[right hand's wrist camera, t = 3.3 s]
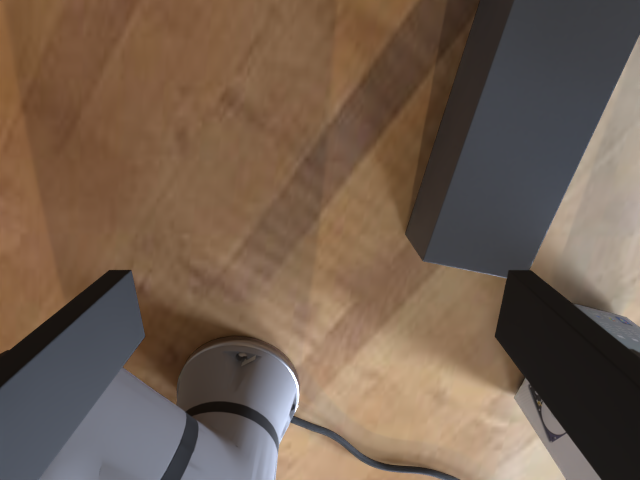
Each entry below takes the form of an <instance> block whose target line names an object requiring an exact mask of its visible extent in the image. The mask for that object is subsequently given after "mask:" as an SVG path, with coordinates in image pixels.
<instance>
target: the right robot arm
mask: <svg viewBox="0 0 640 480" xmlns="http://www.w3.org/2000/svg"><path fill="white" fill-rule="evenodd" d="M144 337H145V333H144V328H143V323H142V319H141V314H140V309H139V304H138V299H137V295H136V290H135V285H134V280H133V275H132V271H131V270H109V271H108V272H106V273H105V274H104V275H103V276H101V277H100V278H99V279H98V280H96V281H95V282H94V283H93V284H91V285H90V286H89V287H88V288H86V289H85V290H84V291H83V292H81V293H80V294H79V295H78V296H76V297H75V298H74V299H73V300H71V301H70V302H69V303H68V304H67V305H65V306H64V307H63V308H62V309H60V310H59V311H58V312H57V313H55V314H54V315H53V316H52V317H50V318H49V319H48V320H47V321H45V322H44V323H43V324H42V325H40V326H39V327H38V328H37V329H35V330H34V331H33V332H32V333H30V334H29V335H28V336H27V337H25V338H24V339H23V340H22V341H20V342H19V343H18V344H17V345H15V346H14V347H13V348H12V349H10V350H7V351H5V352H3V353H1V354H0V480H275V478H276V468H277V457H278V449H279V443H280V441H281V439H282V437H283V435H284V433H285V431H286V430H287V428H288V425H289V423H290V422H291V423H294V424H296V425H299V426H301V427H304V428H306V429H309V430H311V431H314V432H317V433H320V434H323V435H326V436H328V437H330V438H332V439H333V440H335V441H337V442H338V443H340V444H341V445H342V446H343V447H345V448H346V449H347V450H348V451H349V452H351V453H352V454H353V455H354V456H355V457H357V458H358V459H359V460H361V461H362V462H364V463H366V464H368V465H370V466H372V467H375V468H378V469H381V470H385V471H391V472H400V473H415V474H424V475H429V476H433V477H436V478H439V479H442V480H460V479H457V478H455V477H453V476H450V475H448V474H445V473H442V472H439V471H436V470H432V469H428V468H422V467H413V466H398V465H390V464H385V463H381V462H378V461H375V460H372V459H370V458H368V457H366V456H365V455H363V454H362V453H360V452H359V451H358V450H356V449H355V448H354V447H353V446H352V445H351V444H350V443H348V442H347V441H346V440H345V439H343V438H342V437H341V436H339V435H338V434H336V433H334V432H333V431H331V430H329V429H326V428H324V427H321V426H318V425H315V424H312V423H310V422H307V421H305V420H302V419H300V418H297V417H295V416H293V415H294V413H295V411H296V408H297V405H298V400H299V378H298V374H297V372H296V369H295V368H294V366H293V364H292V363H291V361H290V360H289V359H288V358H287V357H286V356H285V355H284V354H283V353H282V352H281V351H280V350H278V349H277V348H275V347H274V346H272V345H270V344H268V343H266V342H263V341H261V340H258V339H254V338H249V337H240V336H233V337H224V338H219V339H216V340H213V341H210V342H208V343H206V344H204V345H202V346H201V347H199V348H198V349H197V350H196V351H194V352H193V353H192V355H191V356H190V357H189V358H188V360H187V362H186V363H185V365H184V367H183V369H182V371H181V373H180V376H179V379H178V384H177V404H176V405H175V404H174V403H172V402H171V401H169V400H168V399H166V398H165V397H164V396H162V395H161V394H159V393H158V392H156V391H155V390H154V389H152V388H151V387H149V386H148V385H146V384H145V383H144V382H142V381H141V380H140V379H138V378H137V377H135V376H134V375H133V374H131V373H130V372H129V371H127V370H126V369H124V368H123V366H124V364H125V363H126V362H127V360H128V359H129V358H130V356H131V355H132V354H133V352H134V351H135V350H136V348H137V347H138V345H139V344H140V343H141V341H142V340H143V339H144ZM495 337H496V339H497V340H498V341H499V343H500V344H501V345H502V347H503V348H504V350H505V351H506V352H507V354H508V355H509V356H510V358H511V359H512V360H513V362H514V363H515V364H516V366H517V367H518V368H519V370H520V371H521V372H522V374H523V375H524V376H525V378H526V379H527V380H528V382H529V383H530V385H531V386H532V387H533V389H534V390H535V391H536V393H537V394H538V395H539V397H540V398H541V399H542V401H543V402H544V403H545V405H546V406H547V407H548V409H549V410H550V411H551V413H552V414H553V415H554V417H555V418H556V419H557V421H558V422H559V424H560V425H561V426H562V428H563V429H564V430H565V432H566V433H567V434H568V436H569V437H570V438H571V440H572V441H573V442H574V444H575V445H576V446H577V448H578V449H579V450H580V452H581V453H582V454H583V456H584V457H585V459H586V460H587V461H588V463H589V464H590V465H591V467H592V468H593V469H594V471H595V472H596V473H597V475H598V476H599V477H600V479H601V480H640V352H638V351H636V350H634V349H628V348H627V347H626V346H625V345H623V344H622V343H621V342H620V341H618V340H617V339H616V338H615V337H613V336H612V335H611V334H610V333H608V332H607V331H606V330H605V329H603V328H602V327H601V326H600V325H598V324H597V323H596V322H595V321H593V320H592V319H591V318H590V317H588V316H587V315H586V314H585V313H583V312H582V311H581V310H580V309H578V308H577V307H576V306H575V305H573V304H572V303H571V302H570V301H569V300H567V299H566V298H565V297H564V296H562V295H561V294H560V293H559V292H557V291H556V290H555V289H554V288H552V287H551V286H550V285H549V284H547V283H546V282H545V281H544V280H542V279H541V278H540V277H539V276H537V275H536V274H535V273H534V272H532V271H531V270H509V271H508V275H507V280H506V285H505V290H504V295H503V299H502V304H501V309H500V314H499V319H498V323H497V328H496V333H495Z"/></svg>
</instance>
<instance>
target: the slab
mask: <svg viewBox="0 0 640 480" xmlns="http://www.w3.org/2000/svg"><path fill="white" fill-rule="evenodd" d="M639 35H640V0H480V3H479V6H478V9H477V12H476V15H475V18H474V21H473V24H472V28H471V31H470V34H469V37H468V40H467V43H466V46H465V49H464V53H463V56H462V59H461V62H460V65H459V68H458V71H457V74H456V77H455V81H454V84H453V87H452V90H451V93H450V96H449V99H448V102H447V105H446V109H445V112H444V115H443V118H442V121H441V124H440V127H439V130H438V134H437V137H436V140H435V143H434V146H433V149H432V152H431V155H430V158H429V162H428V165H427V168H426V171H425V174H424V177H423V180H422V183H421V187H420V190H419V193H418V196H417V199H416V202H415V205H414V208H413V211H412V215H411V218H410V221H409V224H408V227H407V230H406V233H405V235H406V236H407V238H408V239H409V241H410V242H411V244H412V246H413V247H414V249H415V250H416V252H417V253H418V255H419V256H420V258H421V259H422V261H424V262H429V263H434V264H439V265H444V266H449V267H454V268H459V269H464V270H469V271H474V272H479V273H484V274H488V275H493V276H498V277H503V278H507V275H508V271H509V270H530V267H531V265H532V263H533V261H534V259H535V257H536V255H537V252H538V250H539V248H540V246H541V244H542V242H543V240H544V238H545V235H546V233H547V231H548V229H549V227H550V225H551V223H552V220H553V218H554V216H555V214H556V212H557V210H558V208H559V205H560V203H561V201H562V199H563V197H564V195H565V193H566V191H567V188H568V186H569V184H570V182H571V180H572V178H573V176H574V173H575V171H576V169H577V167H578V165H579V163H580V161H581V158H582V156H583V154H584V152H585V150H586V148H587V146H588V144H589V141H590V139H591V137H592V135H593V133H594V131H595V129H596V126H597V124H598V122H599V120H600V118H601V116H602V114H603V112H604V109H605V107H606V105H607V103H608V101H609V99H610V97H611V94H612V92H613V90H614V88H615V86H616V84H617V82H618V79H619V77H620V75H621V73H622V71H623V69H624V67H625V65H626V62H627V60H628V58H629V56H630V54H631V52H632V50H633V47H634V45H635V43H636V41H637V39H638V37H639Z"/></svg>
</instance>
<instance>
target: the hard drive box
mask: <svg viewBox="0 0 640 480" xmlns="http://www.w3.org/2000/svg"><path fill="white" fill-rule="evenodd" d="M573 305H575V306H576V307H577V308H578V309H580V310H581V311H582V312H583V313H585V314H586V315H587V316H588V317H590V318H591V319H592V320H593V321H595V322H596V323H597V324H598V325H600V326H601V327H602V328H603V329H605V330H606V331H607V332H608V333H610V334H611V335H612V336H613V337H615V338H616V339H617V340H618V341H620V342H621V343H622V344H623V345H625V346H626V347H627V348H628V349H634V350H636V351H638V352H640V327H639V326H637V325H636V324H635V323H633V322H632V321H631V320H629V319H628V318H627V317H624V316H620V315H616V314H613V313H609V312H605V311H601V310H597V309H594V308H590V307H586V306H582V305H578V304H573ZM514 399H515V400H516V402H517V404H518V405H519V407H520V408H521V410H522V411H523V413H524V414H525V416H526V418H527V419H528V421H529V422H530V424H531V425H532V427H533V429H534V430H535V432H536V433H537V435H538V436H539V438H540V439H541V441H542V443H543V444H544V446H545V447H546V449H547V450H548V452H549V454H550V455H551V457H552V458H553V460H554V461H555V463H556V465H557V466H558V468H559V469H560V471H561V472H562V474H563V476H564V477H565V479H566V480H601V479H600V477H599V476H598V475H597V473H596V472H595V471H594V469H593V468H592V467H591V465H590V464H589V463H588V461H587V460H586V459H585V457H584V456H583V454H582V453H581V452H580V450H579V449H578V448H577V446H576V445H575V444H574V442H573V441H572V440H571V438H570V437H569V436H568V434H567V433H566V432H565V430H564V429H563V428H562V426H561V425H560V424H559V422H558V421H557V419H556V418H555V417H554V415H553V414H552V413H551V411H550V410H549V409H548V407H547V406H546V405H545V403H544V402H543V401H542V399H541V398H540V397H539V395H538V394H537V393H536V391H535V390H534V389H533V387H532V386H531V385H530V383H529V382H528V380H527V379H526V378H525V379H524V381H523V383H522V385H521V387H520V388H519V390H518V392H517V393H516V395H515V396H514Z"/></svg>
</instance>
